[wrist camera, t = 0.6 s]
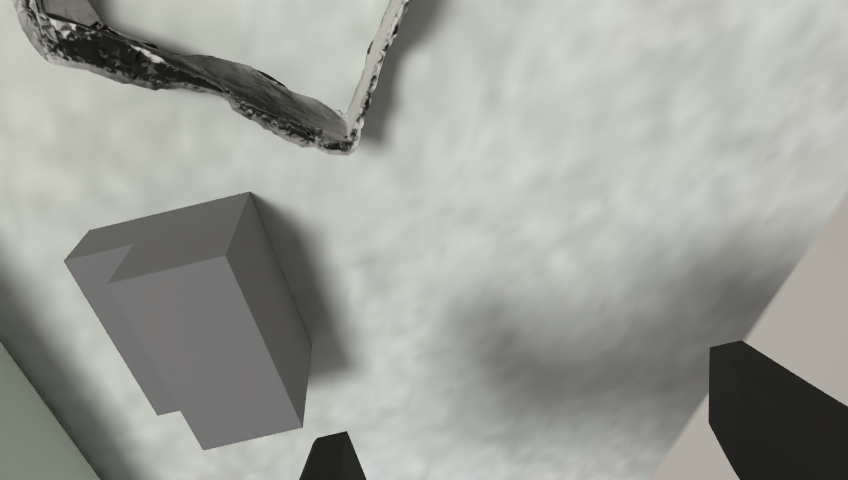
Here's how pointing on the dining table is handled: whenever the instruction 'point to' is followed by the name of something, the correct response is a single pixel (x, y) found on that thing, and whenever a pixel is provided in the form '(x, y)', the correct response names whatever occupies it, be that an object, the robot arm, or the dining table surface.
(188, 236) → the grey stepped block
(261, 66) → the dining table surface
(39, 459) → the door
